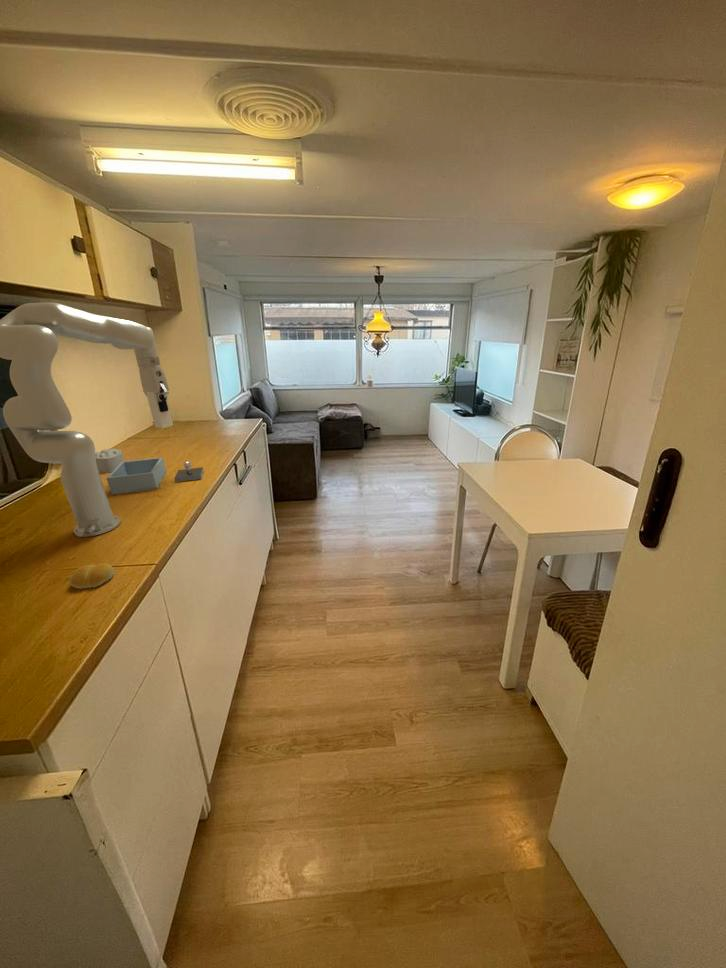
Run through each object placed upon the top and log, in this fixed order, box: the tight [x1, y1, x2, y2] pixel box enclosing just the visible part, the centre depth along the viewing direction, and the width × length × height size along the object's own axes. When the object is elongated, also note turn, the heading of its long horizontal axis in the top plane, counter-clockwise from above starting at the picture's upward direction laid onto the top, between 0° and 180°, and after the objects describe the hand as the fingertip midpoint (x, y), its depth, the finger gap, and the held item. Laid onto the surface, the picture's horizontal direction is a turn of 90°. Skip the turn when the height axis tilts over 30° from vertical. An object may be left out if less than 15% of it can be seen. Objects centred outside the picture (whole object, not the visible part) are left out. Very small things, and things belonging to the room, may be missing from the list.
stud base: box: [174, 460, 205, 483], centre depth 158 cm, size 10×10×7 cm
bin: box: [106, 457, 167, 496], centre depth 154 cm, size 20×16×7 cm
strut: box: [145, 391, 174, 429], centre depth 147 cm, size 5×5×14 cm
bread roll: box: [68, 562, 115, 590], centre depth 94 cm, size 8×9×4 cm
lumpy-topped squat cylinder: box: [95, 448, 126, 474], centre depth 171 cm, size 10×13×9 cm
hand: (160, 410), depth 147 cm, fingers closed on strut, 4 cm apart
